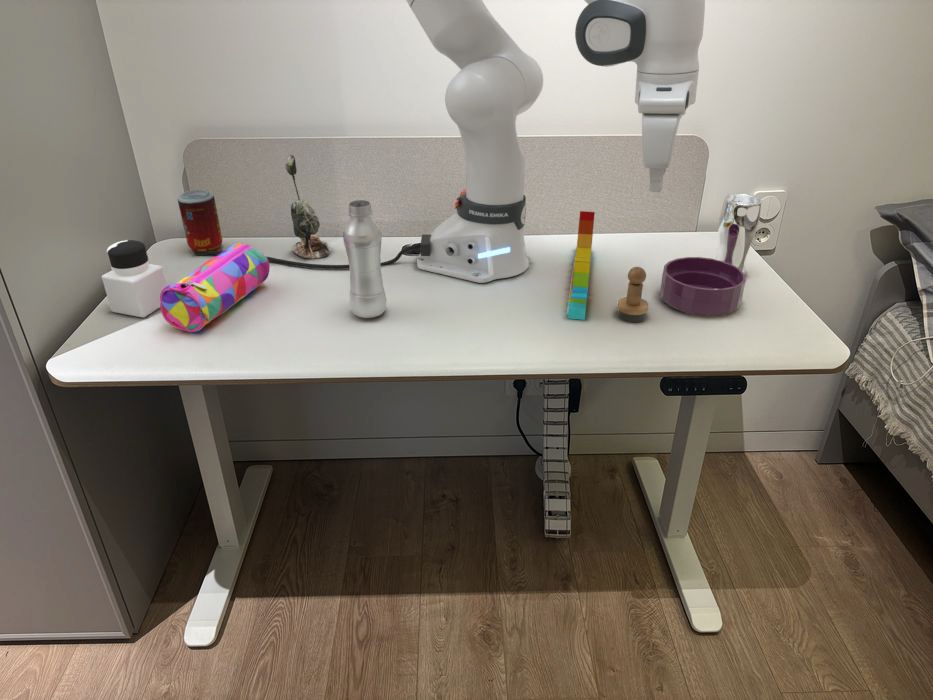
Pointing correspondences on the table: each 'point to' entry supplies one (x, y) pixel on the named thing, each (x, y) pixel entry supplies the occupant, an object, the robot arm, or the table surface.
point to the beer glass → (737, 228)
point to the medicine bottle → (133, 280)
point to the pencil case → (213, 287)
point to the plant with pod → (305, 223)
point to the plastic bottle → (364, 261)
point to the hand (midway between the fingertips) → (657, 181)
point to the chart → (581, 267)
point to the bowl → (702, 286)
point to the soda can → (200, 220)
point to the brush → (633, 298)
